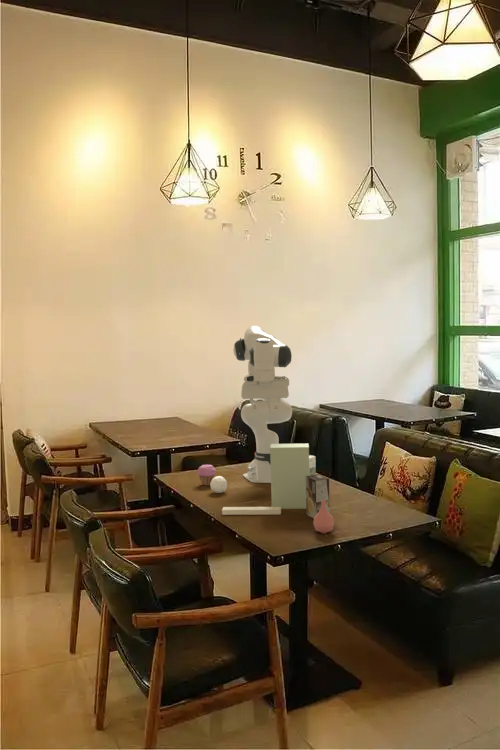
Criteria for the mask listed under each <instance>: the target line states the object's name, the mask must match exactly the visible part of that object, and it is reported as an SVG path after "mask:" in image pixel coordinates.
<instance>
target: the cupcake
mask: <svg viewBox="0 0 500 750" xmlns="http://www.w3.org/2000/svg"><path fill="white" fill-rule="evenodd" d="M216 473H217V469H216V468H215V467H214V466H213V464H207V463H206V464H202V465H201V466H199V467H198V469H197V475H198V477H199V480H200V482H201V485H203V486H206V485H207V486H211V485H210V483H211V481H212V479H213V478H214V477H215V475H216Z"/></svg>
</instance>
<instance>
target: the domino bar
mask: <svg viewBox="0 0 500 750" xmlns="http://www.w3.org/2000/svg"><path fill="white" fill-rule="evenodd" d="M221 515H223V516H226V515H227V516H229V515H232V516H236V515H237V516H238V515H240V516H241V515H245V516H247V515H255V516H256V515H282V509H281V507H272V506H223V507H222V509H221Z"/></svg>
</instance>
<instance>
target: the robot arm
mask: <svg viewBox="0 0 500 750" xmlns="http://www.w3.org/2000/svg"><path fill="white" fill-rule="evenodd" d="M233 355H234V356H235V358H236V360H238V361H242V362H245V361H248V364H247V369H248V374H247V375H245V376H244V377H243V381H244V382H243V383H242V386H241V398H242V399H243V400H249V403H246V404H243V406H242V408H241V411H240V417H241V420H242V422H243V423H245V424H246V425H247V426H248V427H249V428H250V429H251V430H252V432H253V434H254V437H255V443H256V445H255V446H256V451H254V459H253V460H252V461H251V462H250V463H248V465H247V469H246V471H247V472H246V473H243V474H242V477H243V476H244V477H243V478H245V479H246V480H248V481H249V482H251V483H255V484H256V483H258V484H259V483H262V484H271V460H270V446H271V444H280V443H279V441H280V440H279V436H278V435H279V434H277V433H276V432H275V431H273V430H270V429H268V424H281V423H284V422H287V421H289V420H291V418H292V415H293V408H292V405H291V403H289V402H288V401H287V400H284V399H287V398H288V397H289V395H290V394H289V393H290V392H289V386H290V379H289V378H288V377H286V376H280V375H279V376H277V375H276V368H286V367H288V366H289V365H290V364H291V362H292V359H293V358H292V351H291V348H290V347H289V346H288V345H287V344H285V343H282V341H280V340H279V339H278V338H276V337H275V336H274V335H271V334H268V333H267V332H266V331H265V330H264V329H263V327H261V326H259V325H250V326H249V327H247V329H246V330H245V332H244V336H243V338H241V337H240V338H239V339H238V340H236V341H235V342H234V344H233ZM254 399H255V400H257V399H259V400H260V399H261V400H262V401H254Z"/></svg>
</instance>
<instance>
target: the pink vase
mask: <svg viewBox="0 0 500 750" xmlns="http://www.w3.org/2000/svg"><path fill="white" fill-rule="evenodd" d="M312 522H313V523H312V524H313V528H314V530H315V531H316V532H320V534H327V533H328V532H331V531H333V529H334V526H335V521H334V517H333V516H332V514H331V512H330V513H329V512H328V511H327V509H326V507H325V500H322V501H321V509H320V511H319V512H318V514H317V515H316V516H315V517H314V518H313V521H312Z"/></svg>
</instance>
